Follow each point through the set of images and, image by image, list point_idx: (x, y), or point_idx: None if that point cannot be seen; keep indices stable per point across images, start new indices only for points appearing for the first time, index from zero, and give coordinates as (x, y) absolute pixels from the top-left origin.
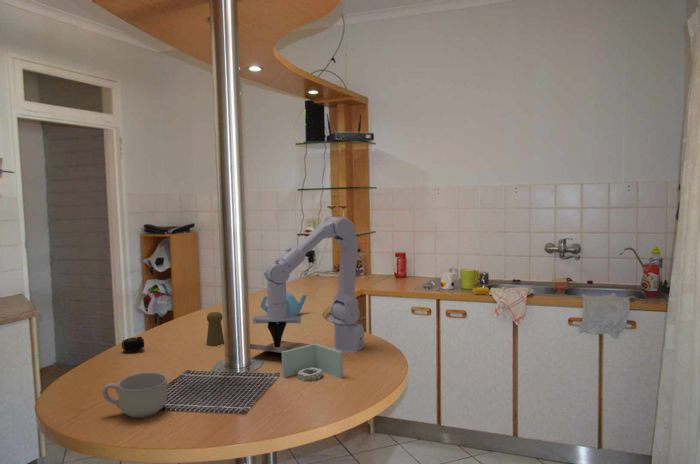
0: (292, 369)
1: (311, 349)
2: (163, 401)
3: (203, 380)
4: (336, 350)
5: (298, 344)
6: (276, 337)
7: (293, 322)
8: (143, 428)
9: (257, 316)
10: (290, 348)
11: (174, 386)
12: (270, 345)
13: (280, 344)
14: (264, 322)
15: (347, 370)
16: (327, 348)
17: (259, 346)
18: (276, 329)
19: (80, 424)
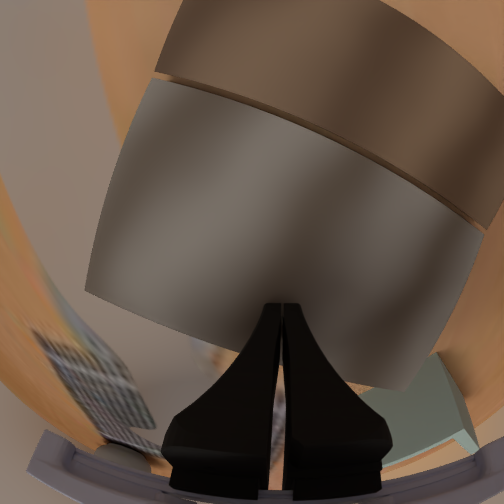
0: None
1: (433, 432)
2: (150, 472)
3: (115, 397)
4: (474, 448)
5: (401, 48)
6: (274, 383)
7: (437, 476)
8: (159, 469)
9: (49, 485)
10: (355, 143)
11: (88, 404)
12: (178, 65)
13: (254, 33)
14: (142, 479)
15: (497, 355)
16: (465, 447)
17: (159, 318)
18: (270, 434)
19: (92, 445)
